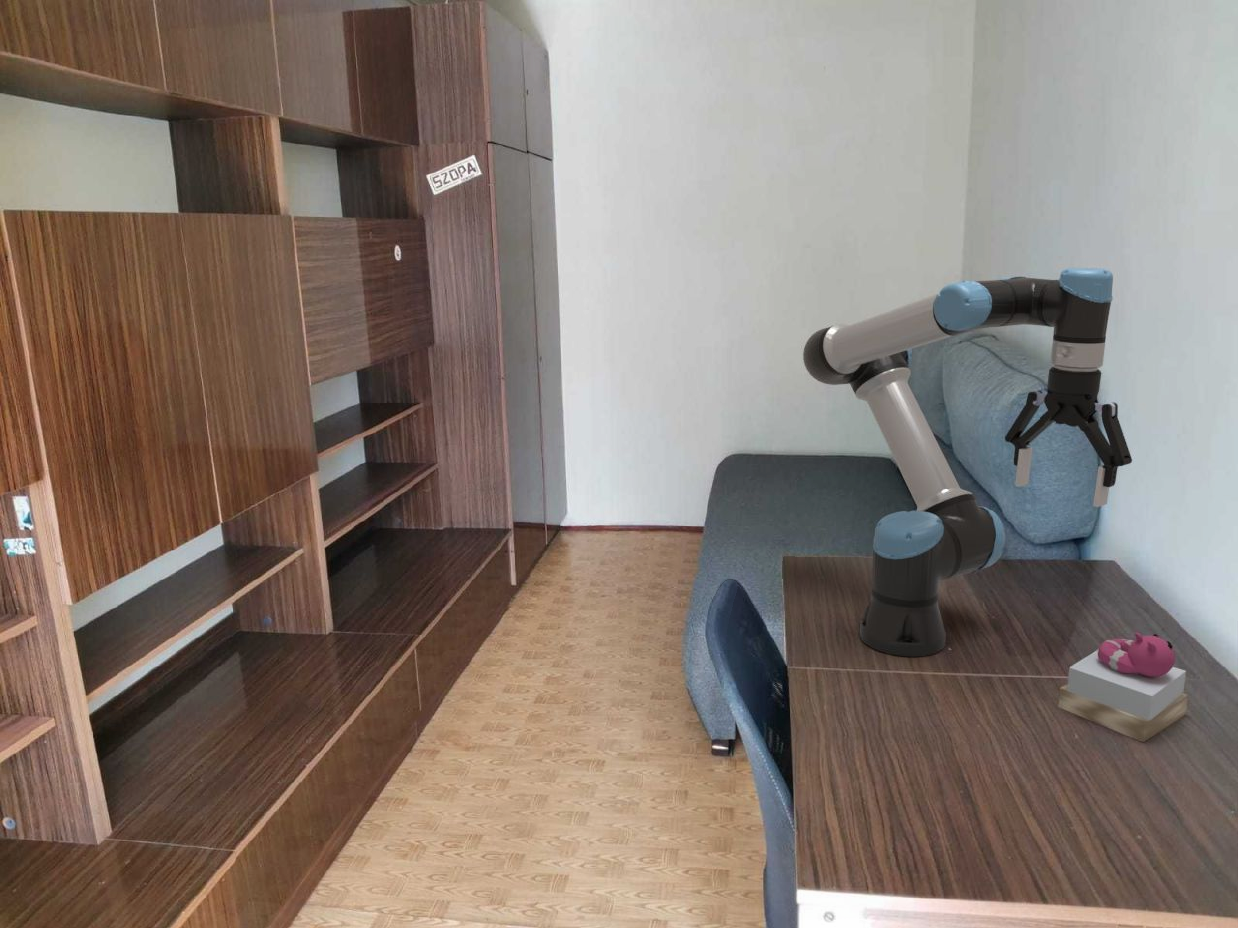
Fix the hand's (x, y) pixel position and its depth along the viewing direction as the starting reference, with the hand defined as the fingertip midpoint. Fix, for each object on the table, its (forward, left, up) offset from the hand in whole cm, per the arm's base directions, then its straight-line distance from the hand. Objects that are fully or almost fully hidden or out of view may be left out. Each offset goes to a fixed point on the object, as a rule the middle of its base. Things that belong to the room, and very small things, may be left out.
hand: (1059, 494), depth 151 cm
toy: (+17, -4, -23) cm, 29 cm away
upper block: (+16, -6, -27) cm, 32 cm away
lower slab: (+16, -6, -31) cm, 36 cm away
